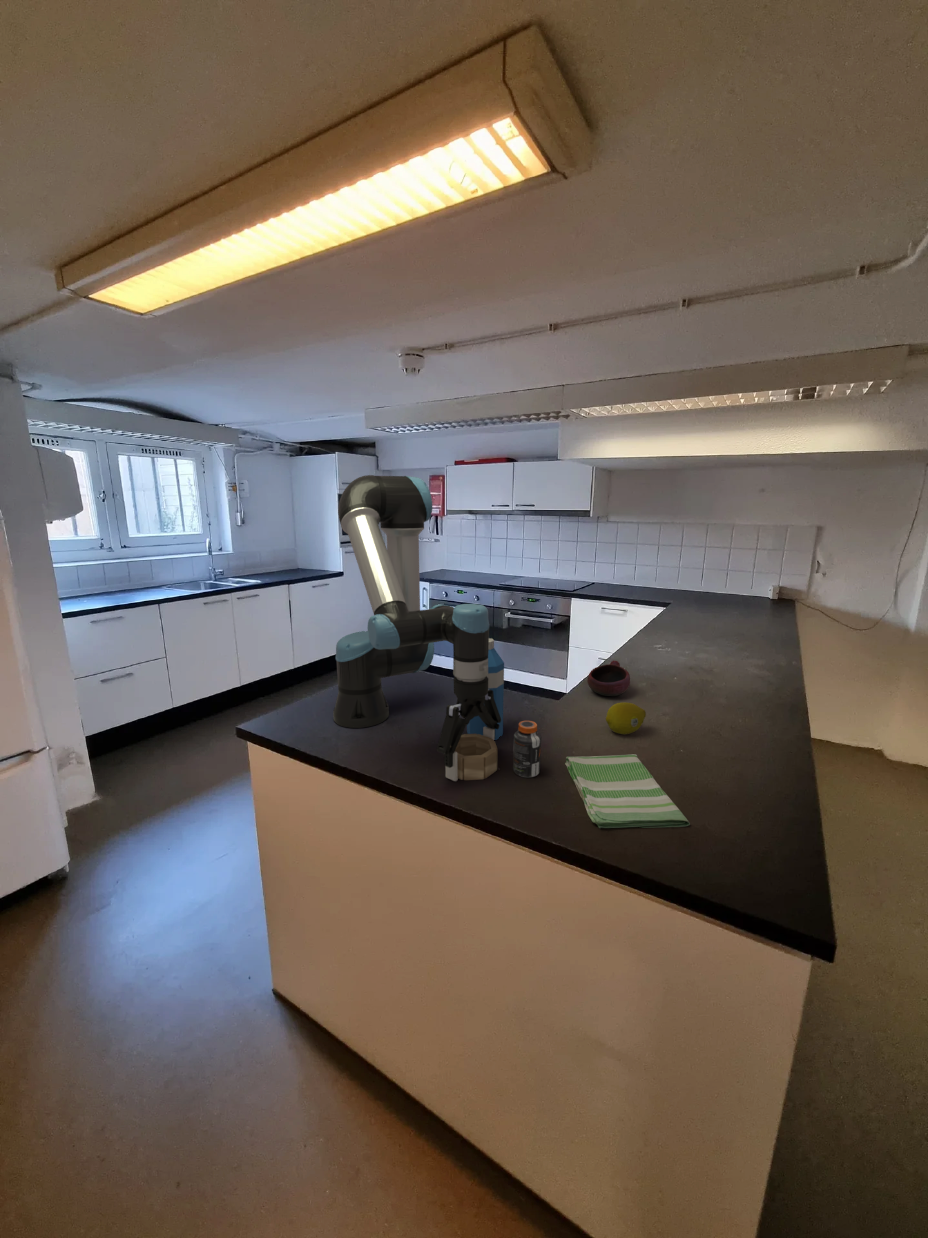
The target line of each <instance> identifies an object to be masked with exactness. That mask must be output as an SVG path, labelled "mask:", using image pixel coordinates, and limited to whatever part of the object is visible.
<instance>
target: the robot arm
mask: <svg viewBox="0 0 928 1238" xmlns="http://www.w3.org/2000/svg"><path fill="white" fill-rule="evenodd" d="M337 509H338V512H337V514H338V521H339V524H340V527H341V529H342V530H343V532H344V533H346V534H347V535H348V537H349V541H350V544H351V547H352V550H353V554H354V557H355V559H356V563H357V566H358V569H359V572H360V576H361V578H362V579H361V580H362V582H363V584H364V588H365V590H366V594H367V597H368V600H369V603H370V607H371V610H372V614H373V615H371V616H370V617H369V618H368V621H367V631H364V630H361V631H356V632H352V633H349V634H347V635H345V636H343V637H341V638H340V639H338V640H337V642H336V645H335V661H336V674H337V691H338V694H337V697H336V700H335V701H336V702H335V704H334V705H335V706H334V708H333V712H332V716H333V717H332V718H333V722H335V724H336V725H338V726H340V727H344V728H350V729H361V728H368V727H373V726H376V725H378V724H382V723H383V722H384V721H386V720H387V719H388V718H389V716H390V707H389V703H388V702H387V699H386V696H385V694H384V691H383V689H382V679H383V678H385V679H386V678H389V677H396V676H400V675H401V676H402V675H406V674H407V675H408V674H415V673H417V672H422V671H425V670H427V669H428V668H429V667H430V665H431V664H432V662H433V660H434V654H435V643H437V642H445V641H446V642H449V643H451V644H452V647H453V649H452V651H453V655H452V658H453V661H452V663H453V664H452V669H453V670H452V674H453V676H454V677H453V693H454V695H455V697H456V699H457V700H456V704H454V705H451V704H448V705H447V706H446V709H445V710H446V712H445V714H446V715H445V719H444V722H443V725H442V727H441V728H442V729H441V732H440V734H439V735H440V736H439V739H438V741H437V742H438V743H437V746H436V751H437V752H438V753H441V754H443V760H444V761H443V764H444V767H445V766H446V768H445V778H446V779H449V780H451V781H453V782H457V781H458V779H459V778H458V772H457V752H456V751H455V749H456V747H457V745H458V742H459V740H460V738H461V735H462V734H463V733H464V731H465V729H466V727H467V724H469V722H470V720H471V719H473V718H474V717H476V716H479V717H480V718H481V720H482V721H483V722H484V724H485V725H486V726H487V727H486V726H485V727H483V736H486V737H489V738H491V739H493V740H494V739H495V729H499V724H497V723H500V722H501V717H500V714H499V712H498V709H497V706H496V703H495V700H494V694H493V690H490V689H488V677H487V675H488V650H489V638H490V621H489V609H488V608H487V607H486V606H485V605H483V604H476V603H462V604H458V605H456V606H454V607H453V606H452V605H449V604H448V605H447V604H434V606H432V607H430V608H429V609H421V593H420V592H421V591H420V587H421V585H420V583H421V582H420V581H421V579H420V542H419V541H420V540H419V537H420V536H419V535H420V534H421V533H422V532H423V531H424V529H425V523H426V522H428V521H429V520H430V519H431V517H432V513H433V498H432V493H431V491H430V489H429V486H427V483H426V482H425V481H424V480H423V479H422V478H420V477H417V476H407V475H372V474H369V475H368V474H367V475H363V476H362V475H361V476H360V477H357V478H356V479H354V480H353V481H351V482H350V483H349V484H348V485H347V486H346V487H345V489H344V490H343V492H342V494H341V497H340V499H339V502H338V508H337ZM379 525H380V526H379ZM381 531H382V532H383V533H384V534H385V535H386V543H385V540H384V538H383V534H382V532H381ZM484 705H485V706H484Z"/></svg>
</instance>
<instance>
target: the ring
mask: <svg viewBox="0 0 928 1238" xmlns="http://www.w3.org/2000/svg"><path fill="white" fill-rule="evenodd" d="M496 743H497V742H496V741H494V740H493V739H491V738H489V737H486V736H483V735H480V734H468V733H464V734H463V733H462V735H461V738H460V740H459V742H458V745H457V747H456V749H455V751H456V752H457V772H458V779H459V780H461V781H462V780H464V781H476V780H484V779H487V778H488V777H490V776H491V775H493V774H494V773H495V772H496V771H498V747H497V745H496ZM444 767H445V769H446V766H445V765H444Z"/></svg>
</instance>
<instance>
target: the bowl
mask: <svg viewBox="0 0 928 1238" xmlns="http://www.w3.org/2000/svg"><path fill="white" fill-rule="evenodd" d="M630 675H631V674H630V673H629V672H628V671H627V669H625V668H624V667H622V666H621V664H620V662H619V661H618V660H612V661H611V662H610V663H608V664H604V665H600V666H597V667H594V668H592V670H590V672H589V673H588V676H587V679H586V680H587V685H588V687H589V688H590V690H591V691H593V692H595V693H596V694H599V695H601V696H604V697H606V696H607V697H617V696H619V695H622V694H623V693H625V692H626V691H627V690H628V689H629V687H630V684H631V676H630Z"/></svg>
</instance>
